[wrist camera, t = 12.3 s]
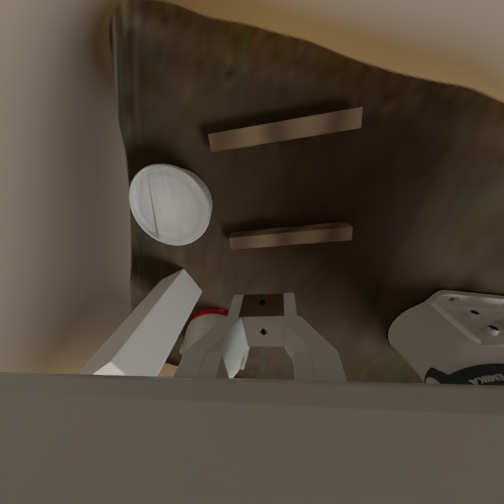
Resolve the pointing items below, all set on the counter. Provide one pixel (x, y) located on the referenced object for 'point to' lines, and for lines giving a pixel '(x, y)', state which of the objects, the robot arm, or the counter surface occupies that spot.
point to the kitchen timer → (202, 325)
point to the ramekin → (170, 203)
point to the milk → (148, 330)
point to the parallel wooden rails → (280, 133)
